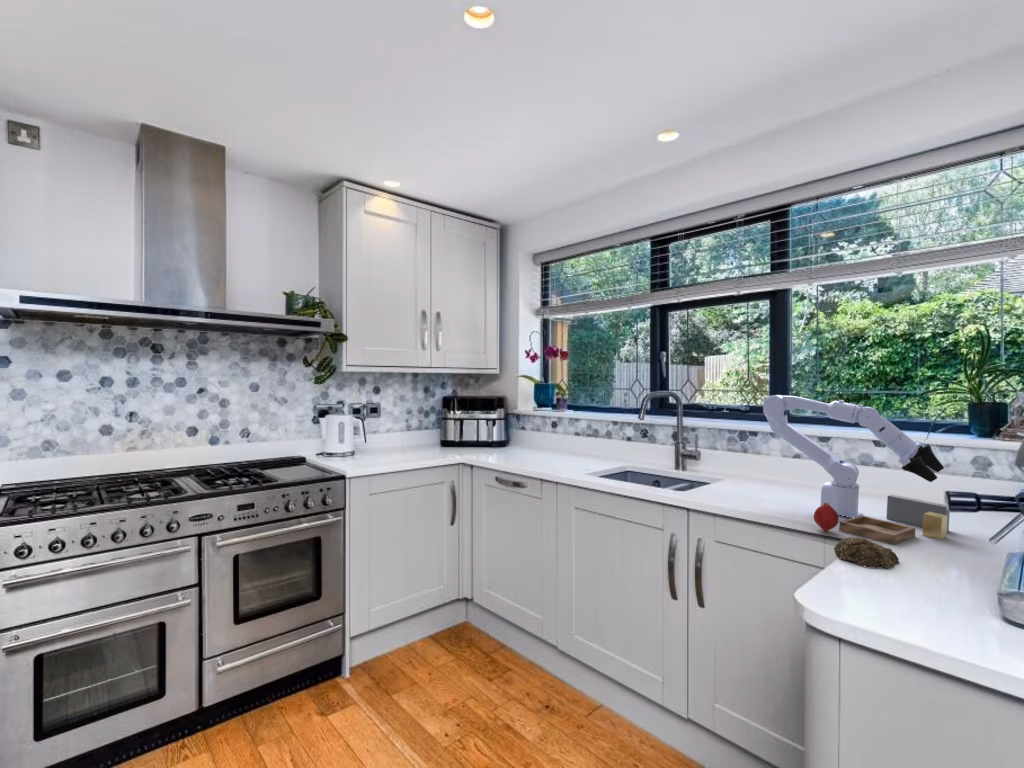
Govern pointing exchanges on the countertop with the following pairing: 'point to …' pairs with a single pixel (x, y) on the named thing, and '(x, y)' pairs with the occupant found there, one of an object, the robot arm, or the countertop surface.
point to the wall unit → (912, 510)
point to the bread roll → (865, 553)
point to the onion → (826, 517)
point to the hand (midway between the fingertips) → (937, 475)
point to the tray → (877, 529)
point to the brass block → (935, 525)
